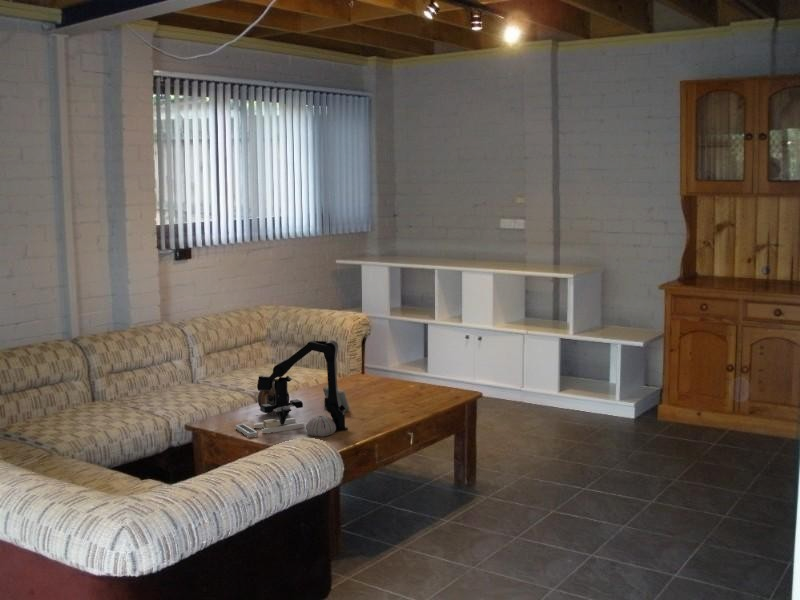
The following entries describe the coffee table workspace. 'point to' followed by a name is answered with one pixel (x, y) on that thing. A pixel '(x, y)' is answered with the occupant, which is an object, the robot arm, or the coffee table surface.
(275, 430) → the channel
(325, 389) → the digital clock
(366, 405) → the coffee table surface
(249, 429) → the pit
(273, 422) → the birch block
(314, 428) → the sea urchin shell
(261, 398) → the wooden sphere
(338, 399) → the robot arm
